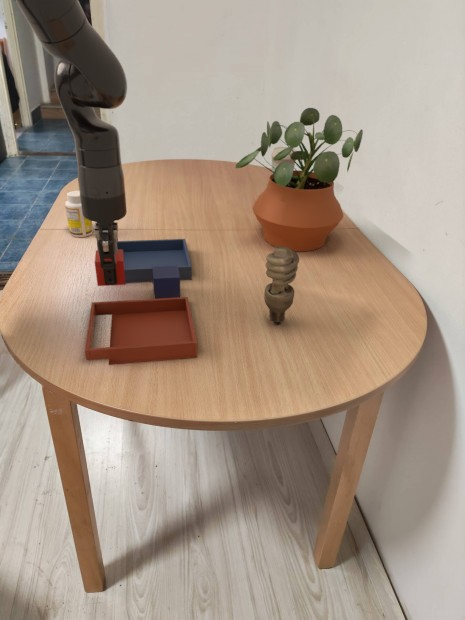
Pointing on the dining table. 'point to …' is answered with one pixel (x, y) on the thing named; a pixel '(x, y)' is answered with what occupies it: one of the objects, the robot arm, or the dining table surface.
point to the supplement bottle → (77, 216)
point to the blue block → (166, 282)
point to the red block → (119, 269)
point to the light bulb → (280, 282)
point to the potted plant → (301, 184)
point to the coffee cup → (286, 159)
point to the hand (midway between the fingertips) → (111, 275)
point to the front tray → (144, 330)
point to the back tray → (154, 258)
